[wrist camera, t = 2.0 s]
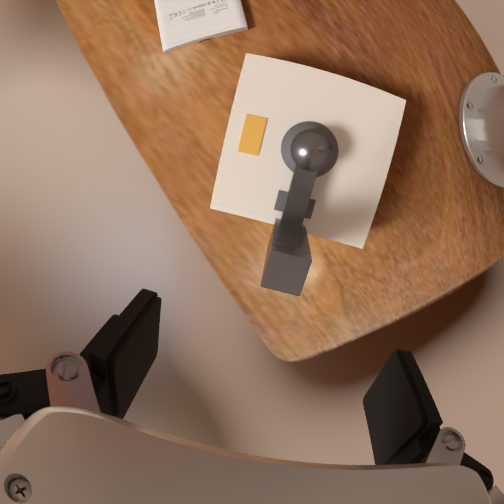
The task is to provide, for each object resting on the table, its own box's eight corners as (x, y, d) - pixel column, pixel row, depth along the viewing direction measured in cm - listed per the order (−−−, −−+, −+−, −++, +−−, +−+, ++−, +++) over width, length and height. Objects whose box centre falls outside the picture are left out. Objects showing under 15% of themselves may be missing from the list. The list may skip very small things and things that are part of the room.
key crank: (295, 125, 21) (299, 118, 14) (334, 136, 20) (355, 135, 14) (264, 244, 24) (255, 285, 18) (300, 253, 24) (304, 297, 18)
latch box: (390, 104, 23) (406, 100, 19) (353, 234, 27) (362, 249, 24) (252, 65, 23) (246, 52, 19) (220, 198, 28) (209, 208, 24)
